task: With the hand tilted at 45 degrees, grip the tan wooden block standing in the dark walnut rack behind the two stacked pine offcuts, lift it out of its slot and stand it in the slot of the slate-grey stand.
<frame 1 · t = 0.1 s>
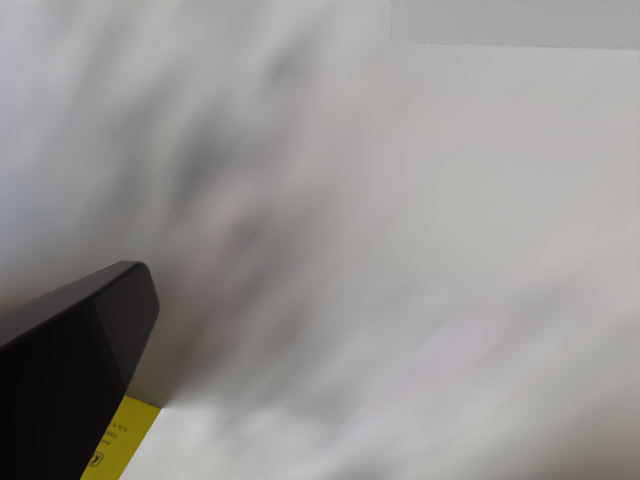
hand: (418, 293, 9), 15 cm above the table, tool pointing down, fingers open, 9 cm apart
food package: (47, 360, 35), on the table
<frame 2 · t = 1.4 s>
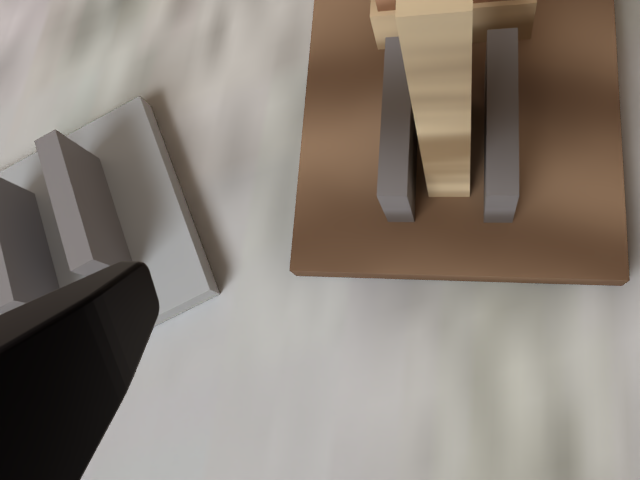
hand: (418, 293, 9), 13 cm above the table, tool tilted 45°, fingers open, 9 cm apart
lower offcut: (452, 1, 24), point 1 cm above the table, touching offcut rack, upper offcut
offcut rack: (450, 157, 23), on the table
tan wooden block: (450, 147, 22), point 1 cm above the table, touching offcut rack
slate stand: (87, 243, 26), on the table
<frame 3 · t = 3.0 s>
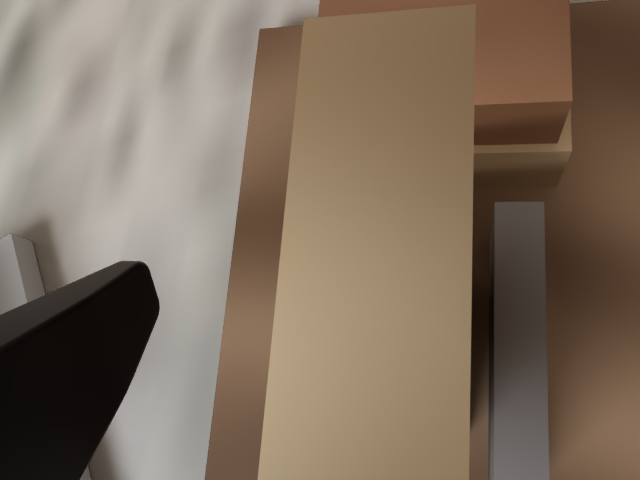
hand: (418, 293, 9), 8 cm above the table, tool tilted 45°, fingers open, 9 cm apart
lower offcut: (443, 120, 16), point 1 cm above the table, touching offcut rack, upper offcut
offcut rack: (439, 353, 16), on the table
upper offcut: (440, 79, 14), point 3 cm above the table, touching lower offcut
tan wooden block: (438, 350, 15), point 1 cm above the table, touching offcut rack
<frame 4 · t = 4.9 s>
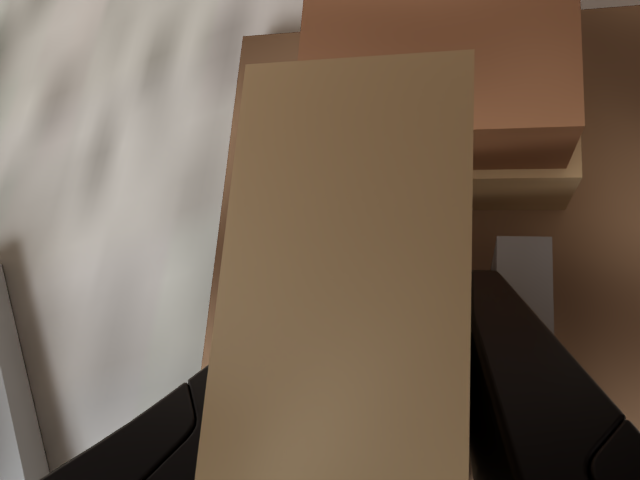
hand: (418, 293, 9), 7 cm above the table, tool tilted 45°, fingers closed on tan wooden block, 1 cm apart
lower offcut: (440, 137, 15), point 1 cm above the table, touching offcut rack, upper offcut
offcut rack: (436, 392, 14), on the table
upper offcut: (436, 96, 13), point 3 cm above the table, touching lower offcut
tan wooden block: (434, 392, 14), point 1 cm above the table, touching gripper, offcut rack
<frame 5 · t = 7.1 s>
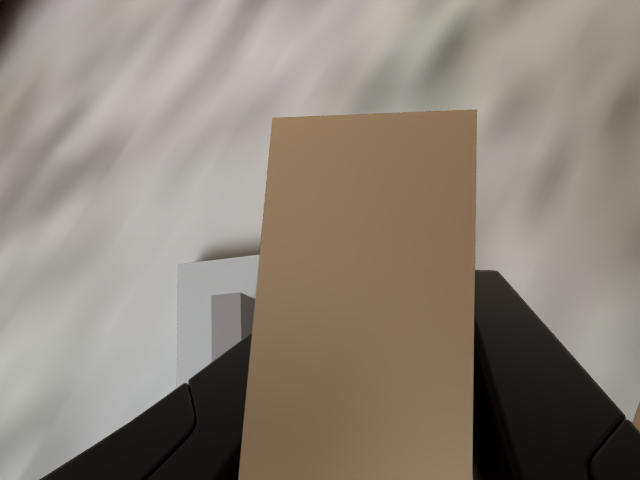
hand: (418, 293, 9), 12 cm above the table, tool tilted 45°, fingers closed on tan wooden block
tan wooden block: (437, 383, 14), point 6 cm above the table, touching gripper
slate stand: (314, 387, 21), on the table
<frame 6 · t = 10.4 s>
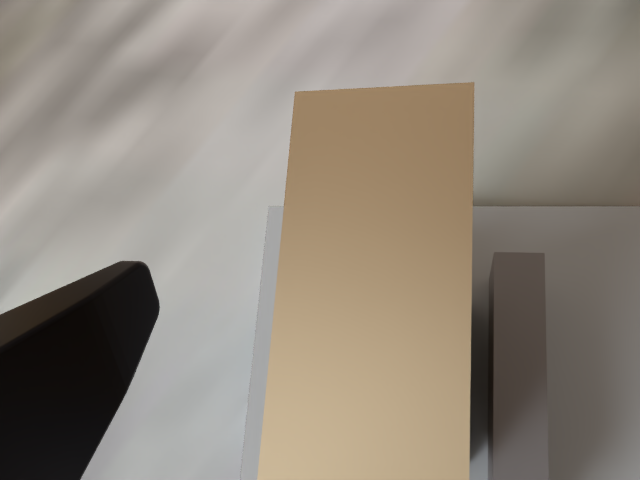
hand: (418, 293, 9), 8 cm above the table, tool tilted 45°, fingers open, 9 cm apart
tan wooden block: (437, 378, 15), point 1 cm above the table, touching slate stand
slate stand: (438, 395, 15), on the table
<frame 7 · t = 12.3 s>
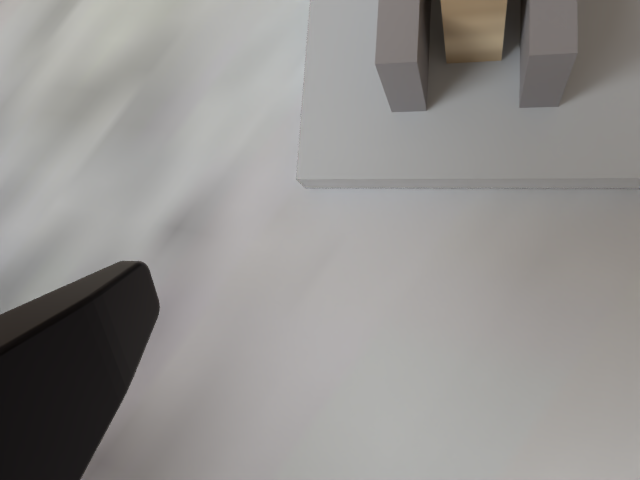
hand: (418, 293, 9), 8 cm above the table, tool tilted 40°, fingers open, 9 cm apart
slate stand: (474, 28, 18), on the table
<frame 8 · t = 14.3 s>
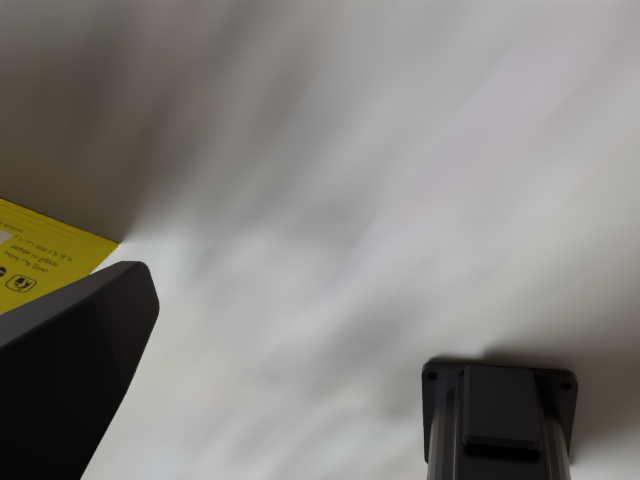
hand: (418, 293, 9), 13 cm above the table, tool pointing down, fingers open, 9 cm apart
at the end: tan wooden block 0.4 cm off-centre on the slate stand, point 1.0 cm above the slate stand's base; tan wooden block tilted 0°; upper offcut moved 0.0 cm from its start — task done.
